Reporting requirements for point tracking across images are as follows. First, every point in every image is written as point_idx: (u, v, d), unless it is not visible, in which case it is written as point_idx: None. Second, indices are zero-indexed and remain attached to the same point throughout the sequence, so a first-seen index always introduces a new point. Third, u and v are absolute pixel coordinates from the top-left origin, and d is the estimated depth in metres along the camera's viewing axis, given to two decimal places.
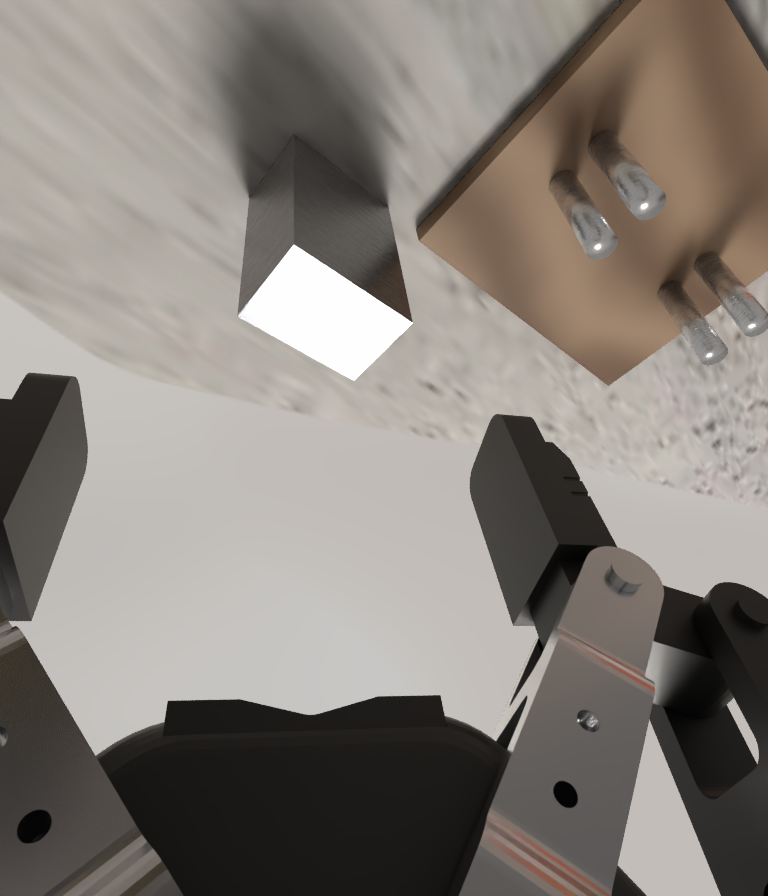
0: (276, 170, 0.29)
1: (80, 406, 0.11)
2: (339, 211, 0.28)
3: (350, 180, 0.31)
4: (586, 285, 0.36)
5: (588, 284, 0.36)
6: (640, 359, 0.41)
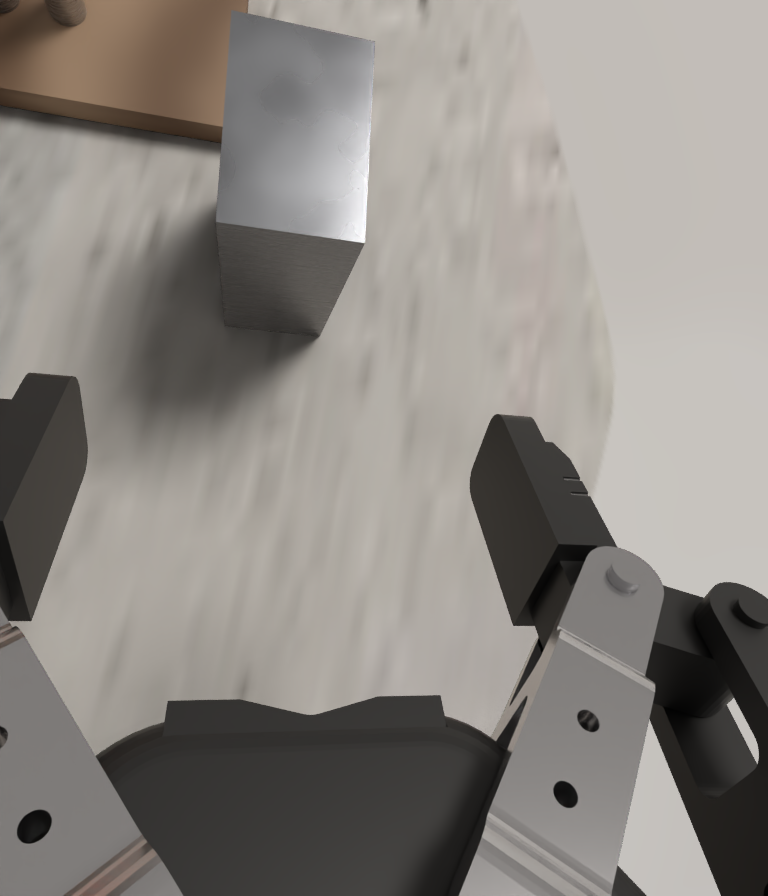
0: (260, 321, 0.25)
1: (80, 406, 0.11)
2: None
3: None
4: None
5: None
6: None
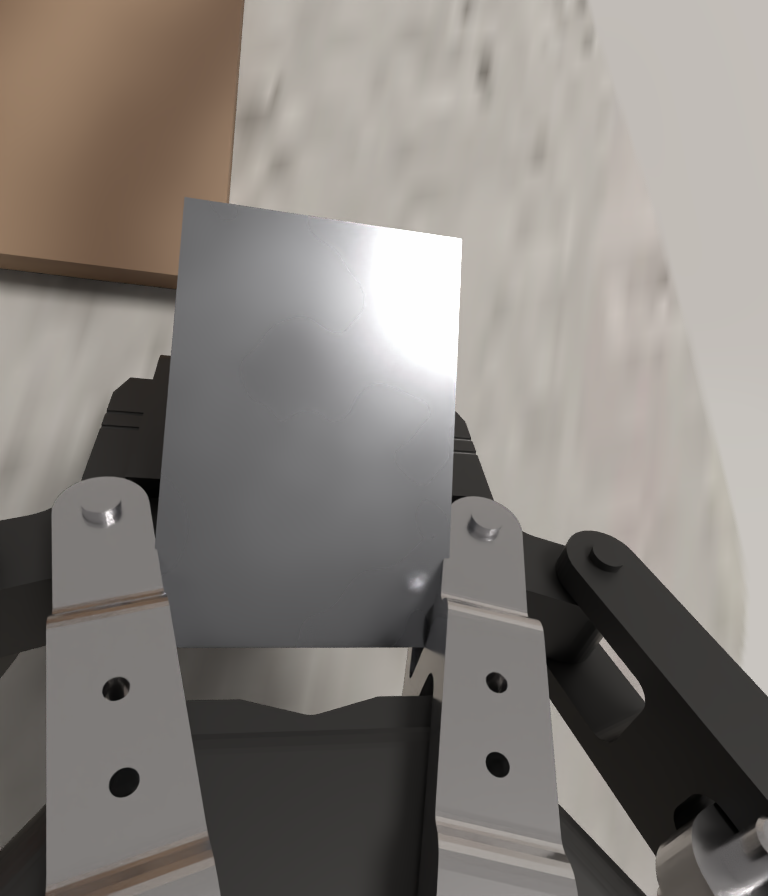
0: None
1: None
2: None
3: None
4: None
5: None
6: None
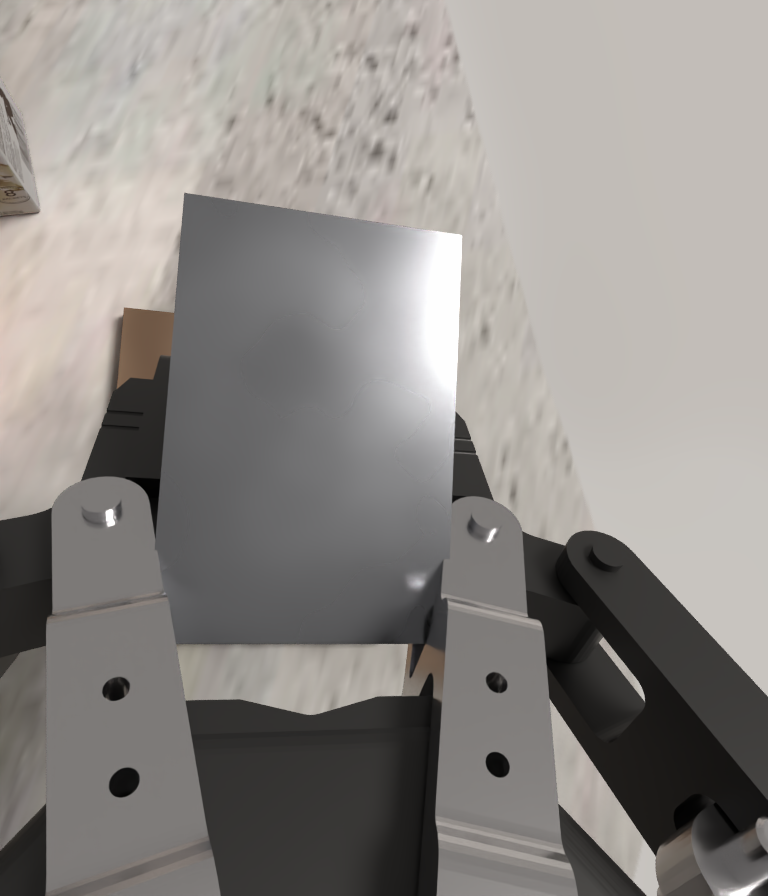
0: None
1: None
2: None
3: None
4: None
5: None
6: None
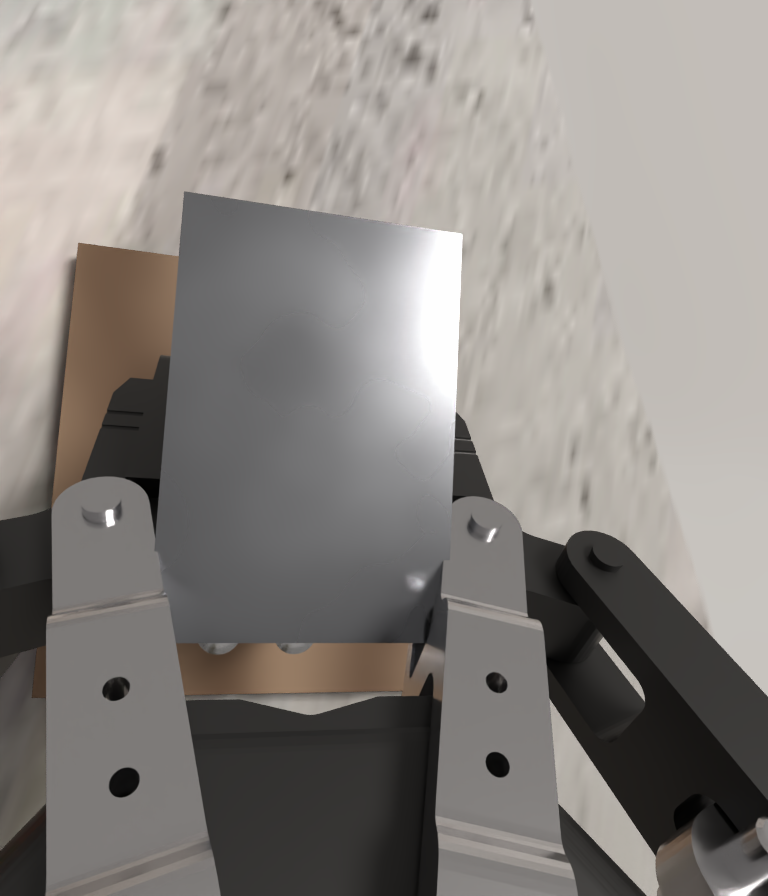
0: None
1: None
2: None
3: None
4: None
5: None
6: None
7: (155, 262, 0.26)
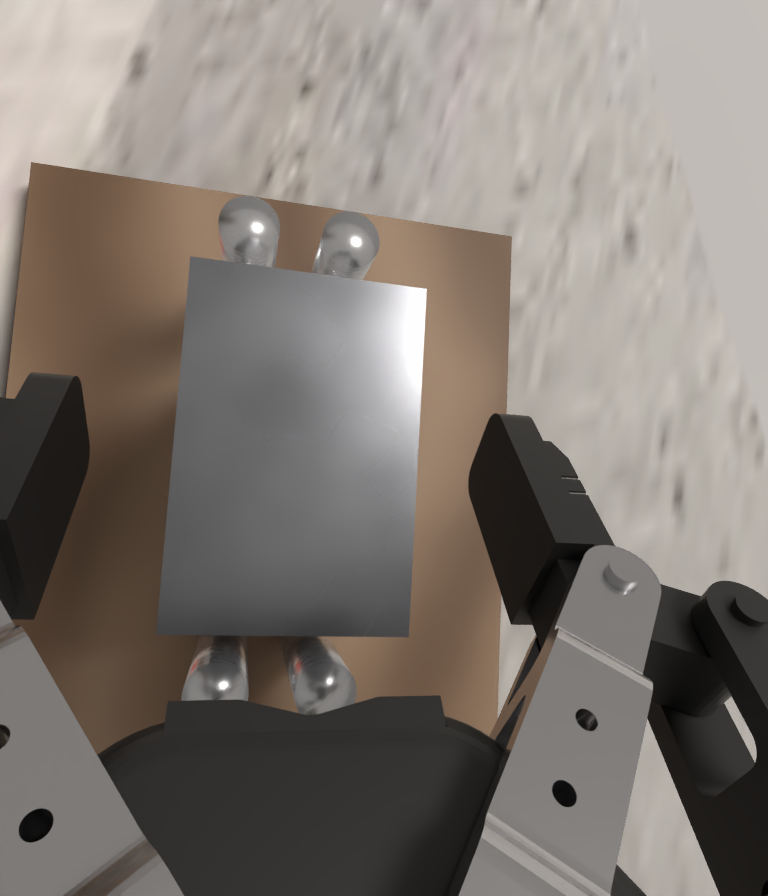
0: None
1: (82, 405, 0.11)
2: None
3: None
4: None
5: None
6: (440, 232, 0.22)
7: (134, 189, 0.20)
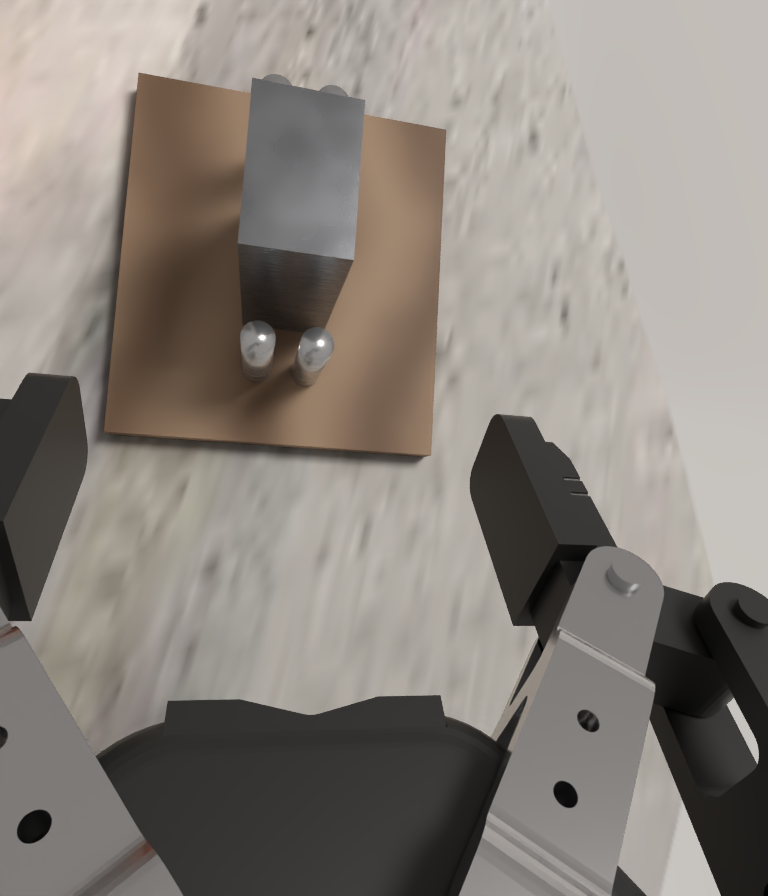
0: (272, 320, 0.29)
1: (80, 406, 0.11)
2: None
3: None
4: (367, 263, 0.32)
5: (365, 262, 0.32)
6: (398, 125, 0.33)
7: (201, 91, 0.31)
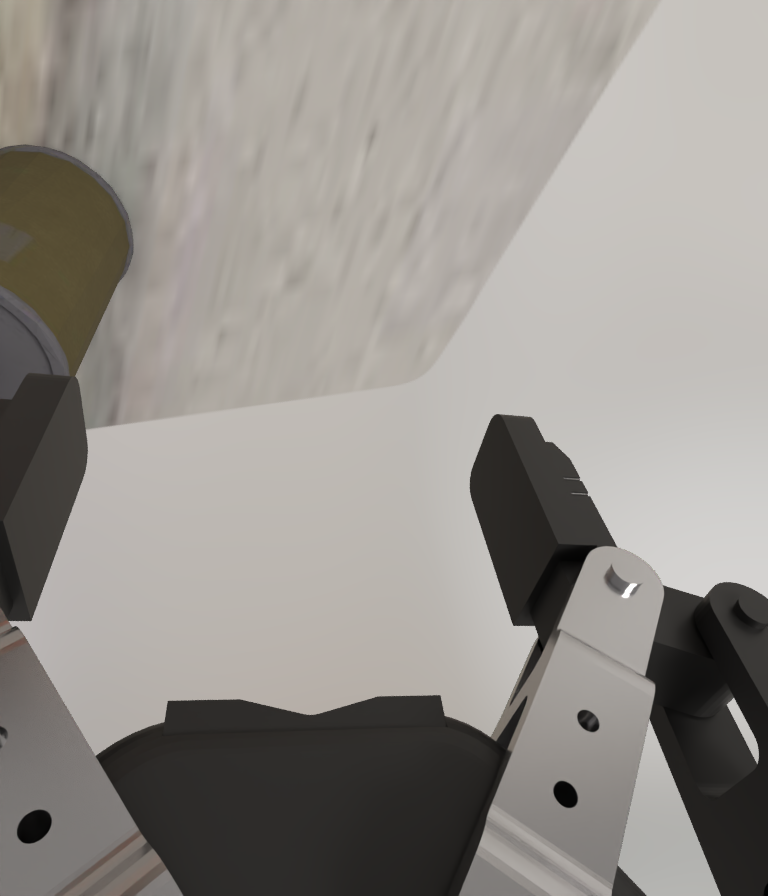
0: None
1: (80, 406, 0.11)
2: None
3: None
4: None
5: None
6: None
7: None
